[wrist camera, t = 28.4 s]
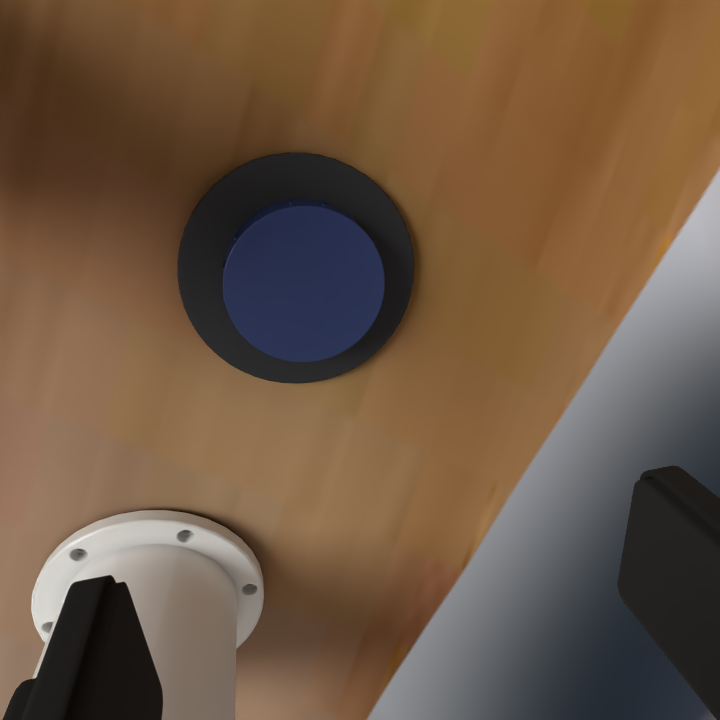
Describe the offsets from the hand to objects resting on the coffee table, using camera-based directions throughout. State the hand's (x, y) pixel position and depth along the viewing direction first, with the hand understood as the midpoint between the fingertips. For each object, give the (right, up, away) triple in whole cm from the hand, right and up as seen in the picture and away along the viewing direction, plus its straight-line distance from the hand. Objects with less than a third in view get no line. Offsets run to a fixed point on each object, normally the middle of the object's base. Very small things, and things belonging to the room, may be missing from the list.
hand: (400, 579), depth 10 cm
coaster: (-4, +8, +16) cm, 18 cm away
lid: (-3, +7, +14) cm, 16 cm away
